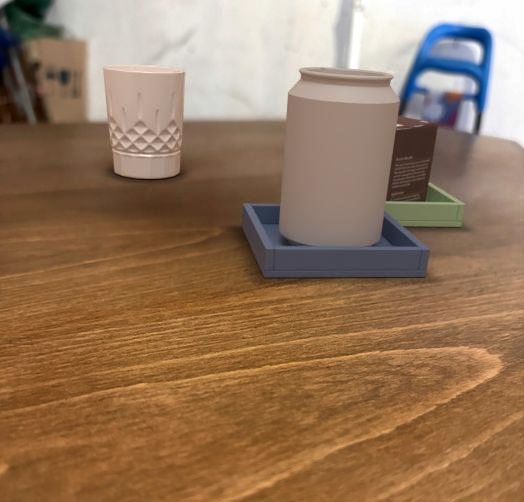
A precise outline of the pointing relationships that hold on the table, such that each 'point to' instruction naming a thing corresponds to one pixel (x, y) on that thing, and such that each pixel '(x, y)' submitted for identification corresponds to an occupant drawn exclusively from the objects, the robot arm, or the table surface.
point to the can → (337, 157)
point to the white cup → (145, 119)
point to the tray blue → (331, 251)
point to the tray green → (428, 210)
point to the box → (411, 160)
